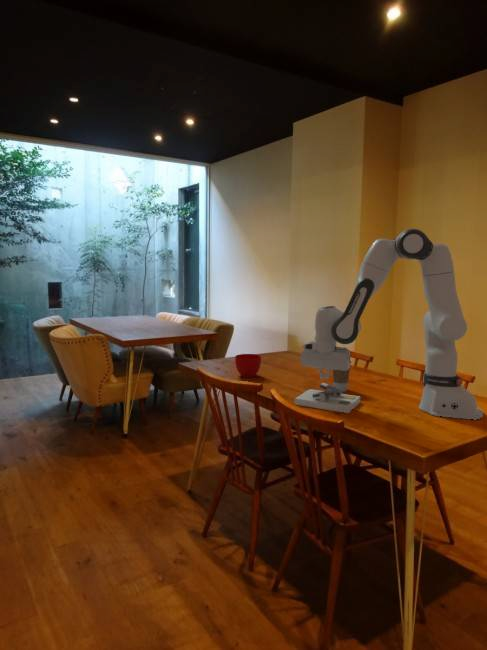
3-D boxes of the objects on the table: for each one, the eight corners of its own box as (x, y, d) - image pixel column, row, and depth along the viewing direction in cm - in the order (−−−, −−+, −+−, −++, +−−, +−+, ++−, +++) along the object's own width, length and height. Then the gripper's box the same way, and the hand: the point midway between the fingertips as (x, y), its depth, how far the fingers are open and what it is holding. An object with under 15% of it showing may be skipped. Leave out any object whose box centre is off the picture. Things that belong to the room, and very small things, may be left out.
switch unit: (360, 402, 187) (360, 388, 186) (348, 413, 173) (349, 398, 172) (309, 394, 198) (309, 381, 197) (294, 404, 184) (295, 390, 183)
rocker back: (342, 393, 188) (343, 390, 188) (339, 395, 185) (340, 392, 184) (322, 385, 192) (323, 382, 192) (319, 387, 189) (320, 384, 188)
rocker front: (337, 392, 181) (336, 389, 181) (334, 395, 177) (333, 391, 177) (316, 395, 185) (315, 392, 185) (312, 397, 182) (312, 394, 182)
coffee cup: (336, 392, 201) (337, 359, 199) (327, 387, 209) (328, 355, 207) (353, 391, 203) (354, 358, 201) (344, 386, 211) (345, 354, 209)
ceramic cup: (262, 371, 240) (262, 352, 239) (260, 379, 224) (260, 359, 222) (237, 370, 242) (237, 352, 240) (233, 378, 225) (233, 358, 224)
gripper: (352, 346, 185) (351, 380, 187) (305, 342, 195) (304, 374, 197) (348, 349, 180) (346, 383, 181) (299, 344, 189) (298, 377, 191)
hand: (324, 378), depth 189 cm, fingers closed
